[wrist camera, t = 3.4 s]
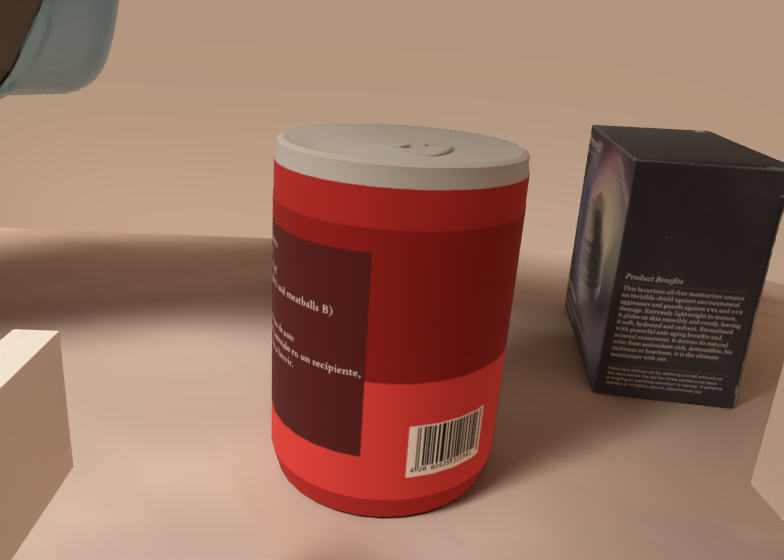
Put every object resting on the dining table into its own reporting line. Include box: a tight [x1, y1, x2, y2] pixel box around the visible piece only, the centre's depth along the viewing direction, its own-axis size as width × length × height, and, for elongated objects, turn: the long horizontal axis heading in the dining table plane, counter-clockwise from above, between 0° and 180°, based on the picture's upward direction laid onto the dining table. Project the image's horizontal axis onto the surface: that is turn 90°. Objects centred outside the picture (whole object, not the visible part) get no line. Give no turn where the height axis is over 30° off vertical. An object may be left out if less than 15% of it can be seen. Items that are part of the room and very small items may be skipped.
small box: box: [565, 125, 784, 408], centre depth 33 cm, size 11×6×10 cm, turn 174°
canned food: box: [272, 124, 530, 517], centre depth 23 cm, size 8×8×11 cm
